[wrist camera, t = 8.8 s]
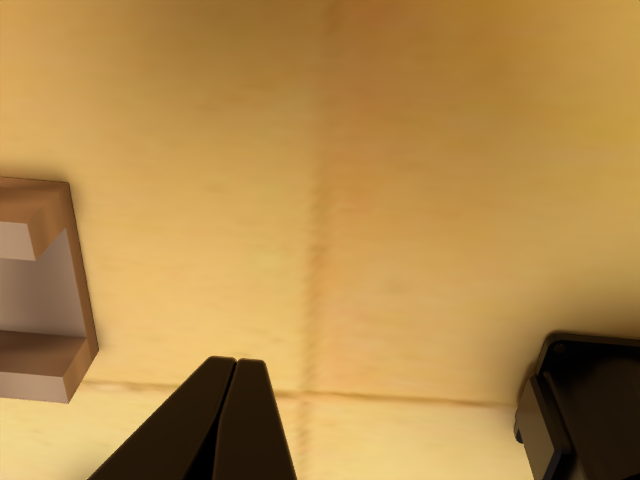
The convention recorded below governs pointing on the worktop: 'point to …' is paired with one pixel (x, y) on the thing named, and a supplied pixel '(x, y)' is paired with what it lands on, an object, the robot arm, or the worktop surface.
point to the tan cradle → (42, 294)
